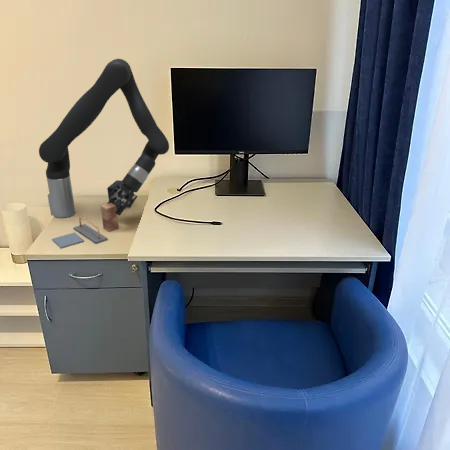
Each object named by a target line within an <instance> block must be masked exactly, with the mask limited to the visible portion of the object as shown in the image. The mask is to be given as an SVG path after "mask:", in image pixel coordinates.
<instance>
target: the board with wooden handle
mask: <svg viewBox="0 0 450 450" xmlns="http://www.w3.org/2000/svg"><path fill="white" fill-rule="evenodd" d="M82 219H83V220H86V221H87V222H89V223H90V224H92V226H93V227H94V228H95V229H97V230H95V229H94V228H92V227H91V226H89V225H87V224H86V223H83V224H82ZM78 224H79V225H77V226H74V227H72V228H73V230H74V231H75V232H78V233H77V234H79V235H81V236H82V237H85V238H86V239H87V240H89V241H91V242H92V243H93V244H95V245H98V244H101V243H103V242H106V241H108V240H109V239H108V237H107V236H105V235H104V234H101V231H100V228H99V226H97V225H96V224H95V223H94V222H93V221H92V220H91V219H90V218H88V217H84V216H80V215H79V216H78Z"/></svg>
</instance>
